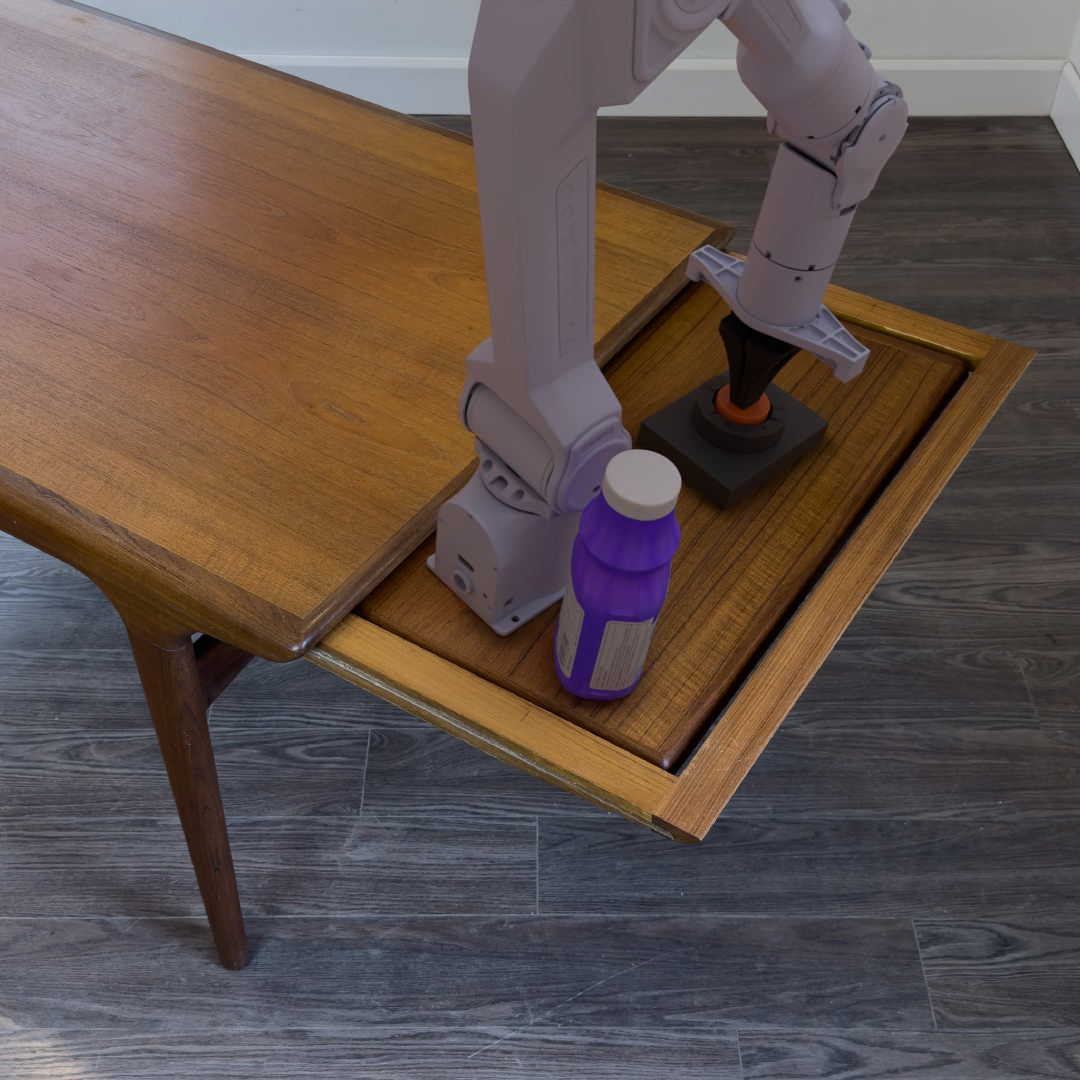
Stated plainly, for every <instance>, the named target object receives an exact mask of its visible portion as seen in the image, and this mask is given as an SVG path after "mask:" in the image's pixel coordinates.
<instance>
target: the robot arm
mask: <svg viewBox="0 0 1080 1080" xmlns="http://www.w3.org/2000/svg"><path fill="white" fill-rule="evenodd" d="M477 14H478V15H477V20H476V24H475V27H474V28H475V29H474V33H473V38H472V44H471V47H470V48H471V49H470V52H469V58H468V59H469V60H468V65H467V89H468V90H467V91H468V100H469V112H470V122H471V123H470V124H471V129H472V130H471V132H472V140H473V141H472V143H473V153H474V163H475V174H476V185H477V186H476V187H477V195H478V206H479V207H478V208H479V215H480V216H479V217H480V218H479V219H480V226H481V227H480V229H481V237H482V248H483V249H482V250H483V258H484V269H485V281H486V290H487V301H488V302H487V303H488V312H489V313H488V314H489V321H490V322H489V323H490V334H491V335H490V336H488V337H487V338H486V339H484V340H483V341H481V343H479V344H478V345H477V346H476V347H475V348H474V349H473V350H472V351H471V352H470V353H469V354H468V355H467V356H466V357H465V359H464V361H465V369H466V371H465V372H466V373H465V374H466V375H465V382H464V385H463V388H462V391H461V394H460V397H459V402H458V408H457V413H458V419H459V421H460V423H461V425H462V426H463V427H464V429H466V430H467V431H468V432H470V433H472V434H474V435H475V436H474V447H473V451H474V452H475V453H476V454H477V456H478V458H479V464H478V466H477V468H476V470H475V472H474V473H473V475H472V477H470V479H469V480H468V482H467V483H466V485H465V486H463V487H462V488H461V490H460V491H458V492H457V493H456V494H455V495H453V496H452V497H450V498H449V499H448V500H447V501H445V502H444V503H443V504H442V505H441V506H440V507H439V509H438V513H437V519H436V521H437V522H436V536H435V537H436V538H435V552H434V553H432V554H431V555H429V556H428V557H427V559H426V567H427V568H428V569H429V570H430V571H431V572H432V573H433V574H434V575H435V576H437V577H438V579H440V580H441V582H443V583H444V584H445V585H446V586H447V587H448V588H449V589H450V590H451V591H452V592H453V593H454V594H455V595H456V596H458V598H459V599H460V600H462V601H463V602H464V603H465V604H466V606H468V607H469V608H470V609H471V610H472V611H473V612H474V613H475V614H476V615H477V616H478V617H479V618H480V619H481V620H483V621H484V622H485V623H486V625H487V626H489V628H491V629H492V630H493V631H494V632H495V633H496V634H497V635H498V636H501V637H508V636H509V635H511V634H512V633H513V632H515V631H516V630H517V629H520V628H521V627H522V626H524V625H525V624H526V623H528V622H530V621H531V620H533V619H534V618H535V617H537V616H538V615H540V614H541V613H543V612H544V611H545V610H547V609H549V608H550V607H552V606H553V605H554V604H556V603H557V602H558V601H560V600H561V599H562V600H563V598H564V593H565V589H566V584H567V580H568V576H569V571H570V566H571V558H572V551H573V544H574V541H575V538H576V535H577V533H578V531H579V522H580V517H581V514H582V512H583V510H584V508H585V507H586V506H587V504H588V503H589V501H591V500H592V499H593V498H595V497H596V496H598V495H599V493H600V491H601V488H602V482H603V479H604V476H605V471H606V467H607V465H608V463H609V462H610V460H611V459H612V458H613V457H615V456H616V455H617V454H619V453H621V452H624V451H628V450H633V449H632V448H633V447H632V446H633V440H632V436H631V434H630V432H629V431H628V430H627V429H626V428H625V427H624V425H623V421H622V416H623V413H622V412H623V407H622V405H621V403H620V402H619V399H618V398H617V395H615V393H614V391H613V389H612V388H611V386H610V384H609V383H608V381H607V379H606V377H605V376H604V374H603V372H602V371H601V369H600V368H599V366H598V364H597V362H596V360H595V357H594V355H595V354H594V350H595V348H594V347H595V274H596V272H595V271H596V270H595V268H596V199H597V197H596V195H597V194H596V193H597V192H596V191H597V188H596V187H597V185H596V184H597V114H598V110H599V109H600V108H605V107H606V108H608V107H614V106H615V107H616V106H625V105H630V104H631V103H633V102H634V100H636V99H637V98H638V96H640V95H641V94H642V93H643V92H644V91H645V90H646V89H647V88H648V87H649V86H650V85H651V84H652V83H653V82H654V81H655V80H656V79H657V78H658V77H659V76H660V75H661V74H662V73H663V72H664V71H665V70H666V69H667V68H668V67H669V66H670V65H671V64H672V63H673V62H674V61H675V60H676V59H677V58H678V57H679V56H680V55H681V54H682V53H683V52H684V51H686V49H687V48H688V47H689V46H690V45H692V43H693V42H695V41H696V39H697V38H698V37H699V36H701V34H702V33H703V32H704V31H705V30H706V29H708V28H709V27H710V25H711V24H713V22H714V21H715V20H717V21H719V22H720V23H722V24H723V25H724V27H726V29H727V30H728V31H729V32H730V33H731V34H732V35H733V36H734V37H735V38H736V39H737V40H738V43H737V47H736V54H735V60H736V61H735V62H736V69H737V73H738V75H739V78H740V80H741V82H742V84H743V85H744V87H746V88H747V89H748V91H749V92H750V93H751V94H752V95H753V97H754V98H755V99H756V100H757V101H758V103H760V104H761V106H762V107H763V108H764V109H765V111H767V113H766V128H767V132H768V134H769V135H775V136H777V137H779V139H780V140H781V141H782V142H781V143H779V147H778V150H777V153H776V157H775V161H774V163H773V167H772V170H771V174H770V177H769V180H768V184H767V187H766V191H765V194H764V198H763V201H762V204H761V208H760V210H759V215H758V217H757V221H756V225H755V228H754V231H753V235H752V237H751V241H750V245H749V248H748V251H747V255H746V258H745V260H743V259H739V258H737V257H735V256H732V255H730V254H727V253H725V252H723V251H720V250H719V249H716V248H715V247H713V246H712V245H710V244H706V245H704V246H703V247H700V248H698V249H696V250H694V251H693V252H690V254H689V259H688V262H687V264H686V265H687V266H686V269H685V274H684V276H685V277H687V278H688V279H690V280H691V281H693V282H695V283H697V282H700V281H703V282H705V283H706V284H708V285H709V286H710V287H712V288H714V290H716V292H717V293H718V294H719V296H720V297H721V298H722V299H723V300H724V301H725V303H726V305H727V306H729V308H730V309H731V310H730V313H729V314H727V315H726V316H724V317H722V318H721V319H720V321H719V325H718V334H719V335H720V338H721V340H722V343H723V346H724V349H725V352H726V358H727V362H728V369H729V374H730V402H732V403H733V404H734V405H736V406H737V407H739V408H740V409H741V410H745V409H746V408H748V407H750V406H751V405H753V404H754V403H756V402H757V401H759V399H760V398H761V396H762V394H763V393H764V391H765V390H766V388H767V387H768V385H769V384H770V382H773V380H774V379H775V377H776V376H777V375H778V374H779V372H780V371H781V370H782V369H783V368H784V367H785V366H786V365H787V364H788V363H789V362H790V361H791V360H792V359H793V358H795V356H796V355H797V354H798V353H800V352H801V351H803V350H805V351H807V352H808V353H809V354H811V355H813V356H814V357H816V358H817V359H818V360H820V361H821V362H823V363H825V364H826V365H827V366H829V367H830V368H832V369H833V370H834V371H833V377H834V378H836V379H837V380H838V381H840V382H841V383H843V384H846V383H849V381H851V380H853V379H854V378H856V377H857V376H858V375H860V374H861V373H863V370H864V369H865V368H864V367H865V365H866V363H867V361H868V358H869V356H870V353H871V350H870V349H869V348H867V347H866V346H864V345H863V344H862V343H861V342H859V341H858V339H856V338H855V336H853V335H852V334H851V333H850V332H849V330H848V329H846V327H845V326H844V325H843V324H842V323H841V322H840V321H839V320H838V319H837V317H836V316H835V315H834V314H833V313H832V311H831V310H829V308H828V307H827V306H826V305H825V303H823V300H824V297H825V295H826V293H827V289H828V286H829V283H830V281H831V278H832V275H833V273H834V271H835V268H836V265H837V263H838V259H839V257H840V254H841V251H842V249H843V247H844V244H845V241H846V239H847V235H848V234H849V233H848V232H849V230H850V228H851V225H852V223H853V222H852V221H853V219H854V216H855V214H856V211H857V209H858V206H859V203H860V202H861V201H863V200H866V199H867V198H868V197H869V195H870V193H871V191H872V190H874V189H875V185H876V183H877V180H878V178H879V175H880V174H881V172H882V170H883V168H884V166H885V165H886V164H887V162H888V161H889V159H890V158H891V157H892V156H893V154H894V153H895V151H896V149H897V148H898V146H899V145H900V143H901V142H902V139H903V138H904V136H905V133H906V131H907V129H908V126H909V122H907V121H908V118H909V106H908V103H907V101H906V100H905V99H904V91H903V90H902V88H901V87H900V85H898V84H896V83H895V82H893V81H891V80H889V79H888V78H885V77H884V76H882V75H880V74H878V73H877V72H876V71H875V69H874V67H873V65H872V64H871V62H870V59H871V57H872V56H873V52H872V51H871V48H870V46H869V45H868V44H866V43H865V42H863V41H861V40H859V39H857V38H856V37H855V36H854V34H853V33H852V30H851V29H850V28H849V26H848V24H847V23H846V22H847V20H848V19H849V17H850V16H851V15H852V9H851V8H850V6H849V4H848V2H847V1H846V0H480V5H479V9H478V13H477ZM513 620H516V621H513Z"/></svg>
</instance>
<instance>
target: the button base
mask: <svg viewBox="0 0 1080 1080" xmlns="http://www.w3.org/2000/svg"><path fill="white" fill-rule="evenodd" d="M728 384H730V374H729V368H728V369H725V371H723V372H721V373H719V374H716V375H714V376H713V377H711V378H709V379H708V380H706V381H704V382H702V383H701V384H700V385H699V386H697V387H696V388H694V389H693V390H691V391H689V392H688V393H686V394H685V395H683V396H681V397H680V398H679V397H678V399H676V400H674V401H672V402H671V403H669V404H668V405H666V406H664V407H663V408H661V409H659V410H658V411H657V412H654V413H653V414H651V415H649V416H648V417H646V418H644V419H643V420H641V422H640V425H639V428H638V434H637V436H636V443H637V444H638V445H640V446H641V447H642V448H643V449H644V450H648V451H652V452H655V453H658V454H660V455H662V456H664V457H665V458H667V459H668V460H670V461H671V462H672V463H673V464H674V465H675V467H676V468H677V469H678V471H679V474H680V476H681V479H683V480H684V482H687V483H688V484H689V485H691V486H692V488H694V489H695V490H696V491H698V492H699V493H701V494H702V495H703V496H704V497H706V498H707V499H708V500H709V501H711V502H712V503H713V504H715V506H717V507H718V508H720V509H721V510H722V511H726V510H728V509H730V508H731V507H732V506H734V505H735V504H737V503H738V502H739V501H741V500H742V499H743V498H745V497H746V496H747V495H749V494H751V493H752V492H754V491H755V490H756V489H757V488H759V487H760V486H762V485H763V484H765V483H766V482H767V481H769V480H770V479H772V478H773V477H775V476H776V475H778V474H779V473H780V472H782V471H783V470H784V469H786V468H788V467H789V466H791V465H792V464H793V463H795V462H796V461H798V460H799V459H800V458H802V457H803V456H805V455H807V453H809V452H810V451H812V450H813V449H815V448H816V447H818V446H819V445H820V444H822V442H823V440H824V438H825V436H826V433H827V430H828V428H829V426H830V421H828V420H827V419H826V418H824V417H822V416H821V415H820V414H818V413H817V412H815V411H814V410H813V409H811V408H810V407H808V406H807V405H805V403H803V402H802V401H800V400H798V398H796V397H794V396H793V395H791V394H790V393H788V392H787V391H786V390H784V389H783V388H782V387H780V386H778V385H777V384H776V383H774V382H773V381H771V382H770V384H769V385H768V387H767V388H766V390H765V391H764V393H765V394H766V396H767V397H768V399H769V401H770V410H769V412H768V415H767V418H766V421H765V422H764V423H763V424H761V425H750V426H744V425H740V424H737V423H733V422H730V421H728V420H727V419H726V418H724V417H723V416H722V415H720V414H719V413H718V412H717V411H716V409H715V407H714V405H715V402H716V398H717V395H718V392H719V391H720V389H721V388H722V387H724V386H726V385H728Z"/></svg>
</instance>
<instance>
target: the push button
mask: <svg viewBox="0 0 1080 1080" xmlns="http://www.w3.org/2000/svg"><path fill="white" fill-rule="evenodd" d="M714 407H715V409H716V411H717V412H718V413H719V414H720V415H722V416H723V417H724V418H726V419H727V420H728V421H730V422H733V423H737V424H740V425H744V426H750V425H761V424H763V423H764V422H765V421H766V418H767V415H768V412H769V410H770V401H769V399H768V397H767V396H766V394H765V393H763V394H762V396H761V398H760V399H759V401H757V402H756V403H754V404H753V405H751V406H750V407H748V408H746V409H745V410H741V409H740V408H739V407H737V406H736V405H734V404H733V403H732V402H730V384H728V385H726V386H724V387H722V388H721V389H720V391H719V392H718V395H717V398H716V402H715V405H714Z"/></svg>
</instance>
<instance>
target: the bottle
mask: <svg viewBox="0 0 1080 1080" xmlns="http://www.w3.org/2000/svg"><path fill="white" fill-rule="evenodd" d="M681 488H682V477H681V476H680V474H679V471H678V469H677V468H676V467H675V465H674V464H673V463H672V462H671V461H670V460H668V459H667V458H665V457H664V456H662V455H660V454H658V453H655V452H652V451H648V450H646V449H631V450H628V451H624V452H621V453H619V454H617V455H616V456H615V457H613V458H612V459H611V460H610V462H609V463H608V465H607V467H606V471H605V476H604V479H603V482H602V488H601V491H600V493H599V495H598V496H596V497H595V498H593V499H592V500H591V501H589V503H588V504H587V506H586V507H585V508H584V510H583V512H582V514H581V517H580V522H579V531H578V533H577V535H576V538H575V541H574V544H573V551H572V558H571V566H570V571H569V576H568V580H567V584H566V589H565V593H564V597H563V598H562V603H561V607H560V612H559V614H558V617H557V621H556V624H555V630H554V637H553V659H554V667H555V671H556V675H557V677H558V680H559V682H560V684H561V686H562V687H563V689H564V690H565V691H566V692H568V693H569V694H572V695H574V696H576V697H579V698H582V699H586V700H598V701H613V700H619V699H621V698H624V697H627V696H628V695H629V694H630V693H631V692H633V690H634V688H635V687H636V686H637V684H638V682H639V680H640V679H641V676H642V673H643V667H644V664H645V661H646V657H647V654H648V651H649V648H650V645H651V642H652V638H653V634H654V632H655V629H656V625H657V622H658V619H659V617H660V613H661V610H662V608H663V606H664V603H665V601H666V600H667V596H668V591H669V585H670V579H671V571H672V559H673V558H674V557H675V555H676V553H677V552H678V550H679V547H680V541H681V535H682V534H681V528H680V524H679V522H678V521H677V519H676V506H677V503H678V498H679V495H680V492H681Z"/></svg>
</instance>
